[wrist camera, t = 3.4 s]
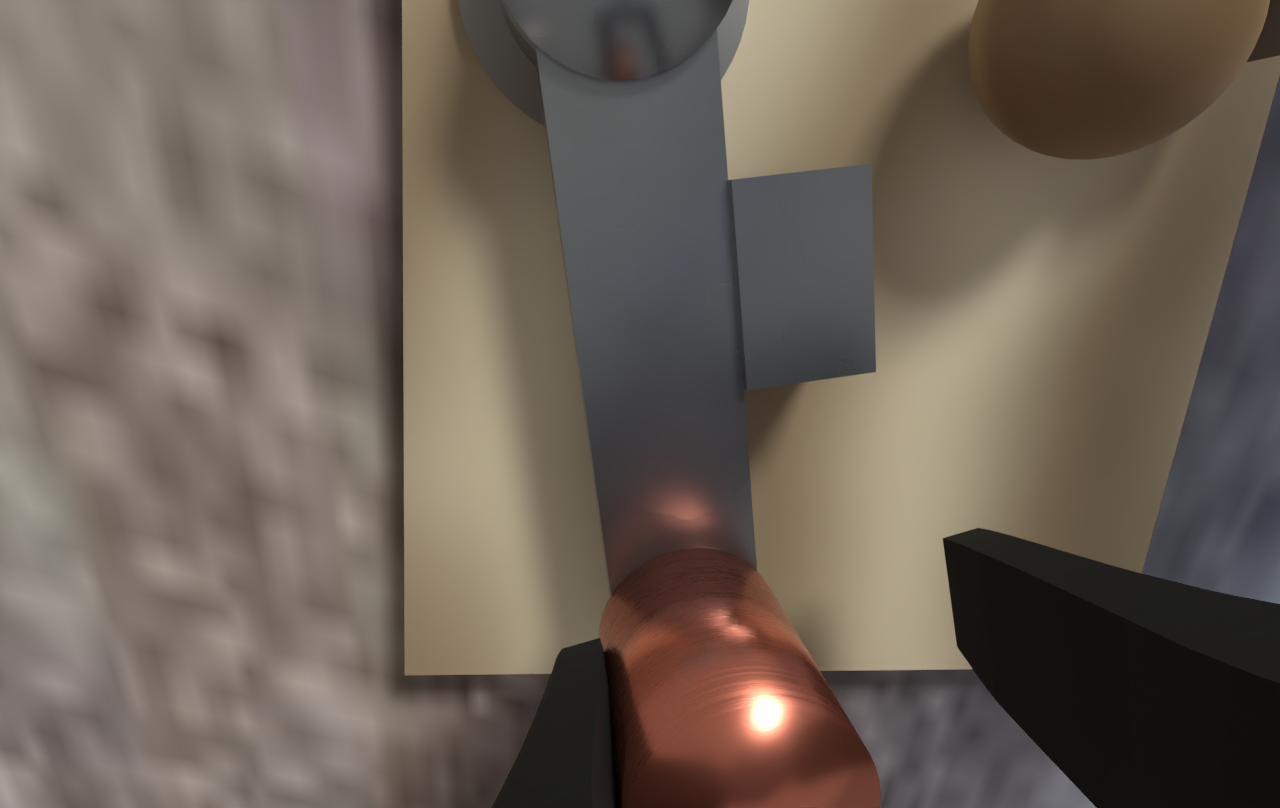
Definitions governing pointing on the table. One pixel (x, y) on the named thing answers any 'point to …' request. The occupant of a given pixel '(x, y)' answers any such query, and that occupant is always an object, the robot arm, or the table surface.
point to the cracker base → (903, 292)
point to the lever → (695, 396)
